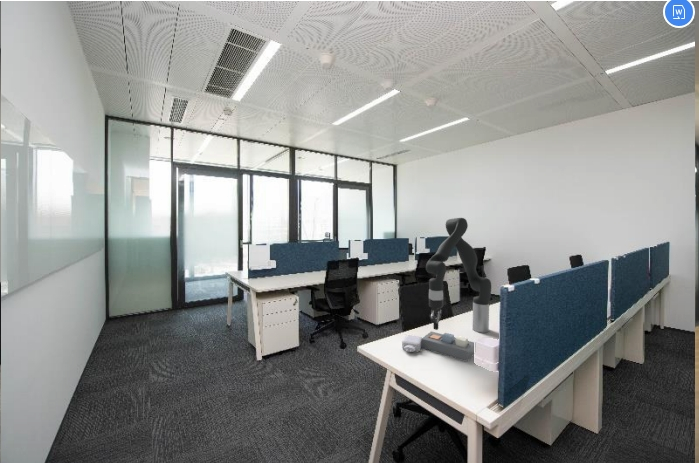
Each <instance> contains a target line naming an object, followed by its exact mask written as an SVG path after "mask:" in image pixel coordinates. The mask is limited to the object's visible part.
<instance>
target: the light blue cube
mask: <svg viewBox="0 0 699 463" xmlns="http://www.w3.org/2000/svg"><path fill="white" fill-rule="evenodd" d="M442 334H443V335H442V342H446V343H450V344H452V343H453V342H454V337H455V334H452V333H449V332H444V333H442Z"/></svg>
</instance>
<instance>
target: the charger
mask: <svg viewBox="0 0 699 463" xmlns="http://www.w3.org/2000/svg"><path fill="white" fill-rule="evenodd" d="M422 338H423V337H422V336H417V335H413V334H406V335H405V336H404V338H403V340H402V343H401V344H402V346H401V348H402V349H403V350H404V351H405V352H409V353H413V352H416V353H417V352H418V353H419V352H420V350H421V349H422V348H421V339H422Z"/></svg>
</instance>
